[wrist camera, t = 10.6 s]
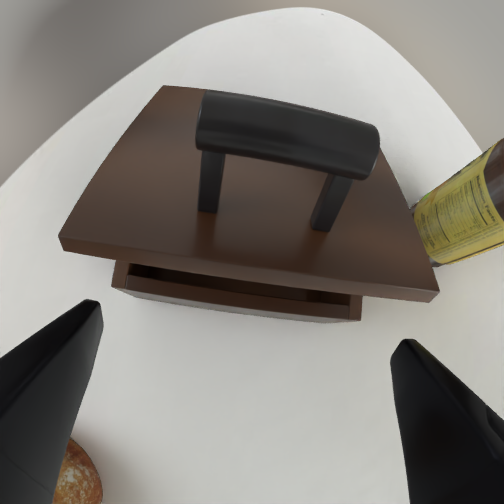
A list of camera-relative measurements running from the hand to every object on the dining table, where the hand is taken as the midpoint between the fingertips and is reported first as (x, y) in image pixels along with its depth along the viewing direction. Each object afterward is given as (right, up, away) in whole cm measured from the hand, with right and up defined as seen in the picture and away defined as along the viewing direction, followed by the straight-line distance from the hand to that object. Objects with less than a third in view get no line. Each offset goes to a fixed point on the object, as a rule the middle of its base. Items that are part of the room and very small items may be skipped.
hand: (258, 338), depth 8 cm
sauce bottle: (+15, +4, +17) cm, 23 cm away
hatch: (0, +6, +6) cm, 9 cm away
